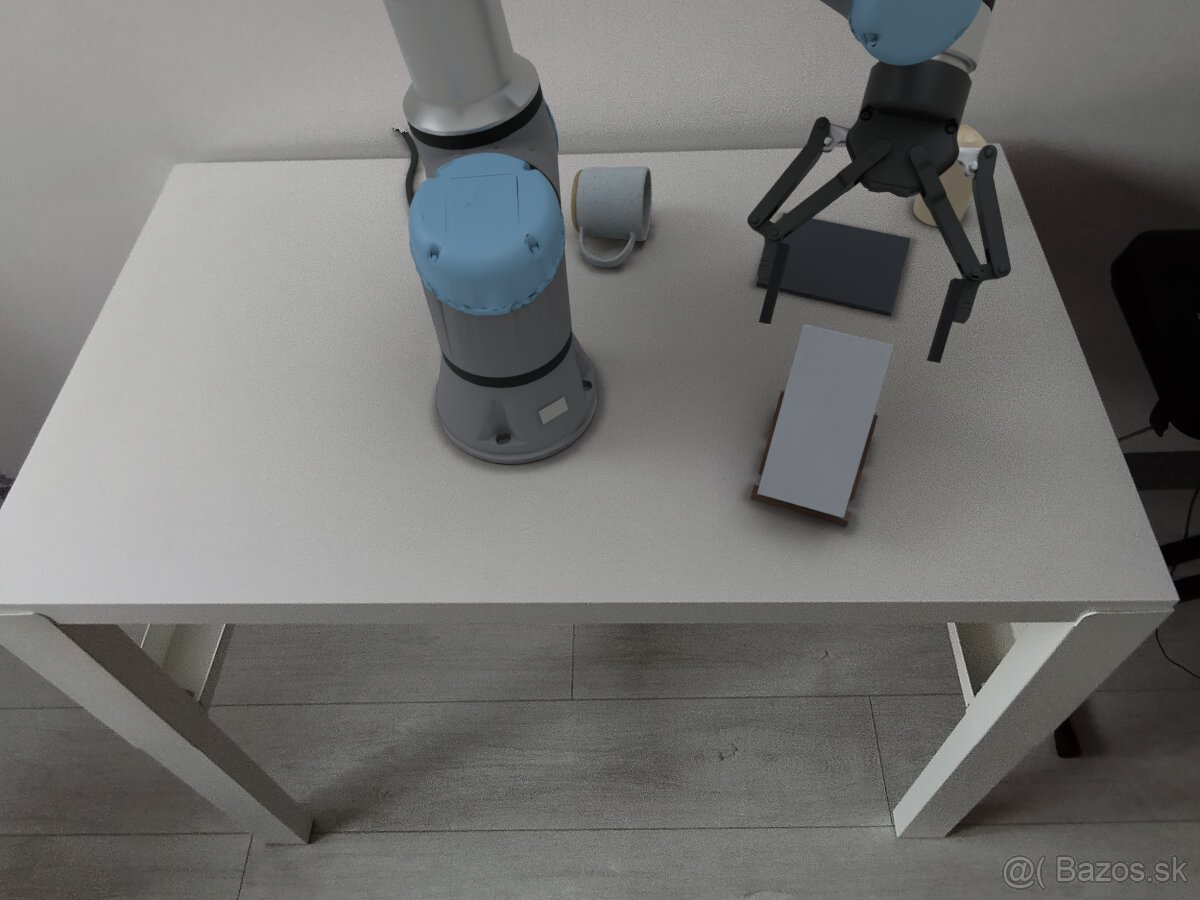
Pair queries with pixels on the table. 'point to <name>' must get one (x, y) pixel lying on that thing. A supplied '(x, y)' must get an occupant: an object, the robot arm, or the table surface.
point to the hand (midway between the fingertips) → (846, 342)
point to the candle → (954, 180)
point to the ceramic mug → (612, 207)
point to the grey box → (825, 419)
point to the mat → (844, 265)
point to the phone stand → (798, 508)
